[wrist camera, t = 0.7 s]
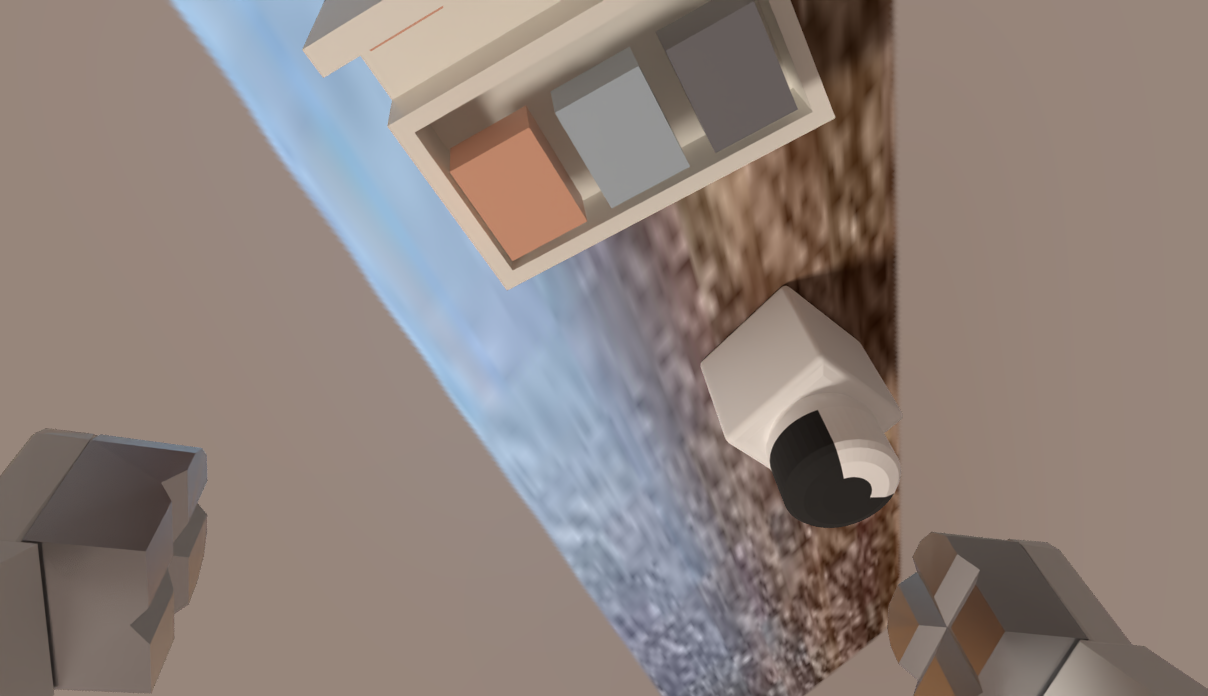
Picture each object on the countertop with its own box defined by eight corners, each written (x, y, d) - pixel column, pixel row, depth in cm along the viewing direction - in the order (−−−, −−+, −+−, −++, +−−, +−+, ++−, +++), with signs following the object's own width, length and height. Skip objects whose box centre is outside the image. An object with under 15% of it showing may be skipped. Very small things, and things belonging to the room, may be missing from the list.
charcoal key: (655, 31, 37) (665, 50, 35) (738, -16, 36) (753, 0, 35) (703, 131, 40) (715, 153, 38) (781, 88, 39) (797, 109, 37)
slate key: (550, 91, 38) (554, 113, 36) (629, 46, 37) (638, 65, 35) (604, 184, 41) (611, 208, 39) (679, 143, 40) (690, 166, 38)
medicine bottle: (775, 415, 57) (838, 562, 47) (696, 362, 54) (746, 509, 44) (861, 341, 54) (946, 481, 45) (784, 280, 51) (857, 418, 41)
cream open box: (329, -10, 39) (301, 49, 33) (680, -229, 36) (726, -212, 29) (503, 239, 47) (509, 325, 41) (801, 78, 44) (858, 145, 38)
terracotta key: (450, 148, 39) (449, 172, 37) (526, 105, 38) (528, 127, 36) (510, 234, 42) (512, 261, 40) (581, 196, 41) (587, 221, 39)
